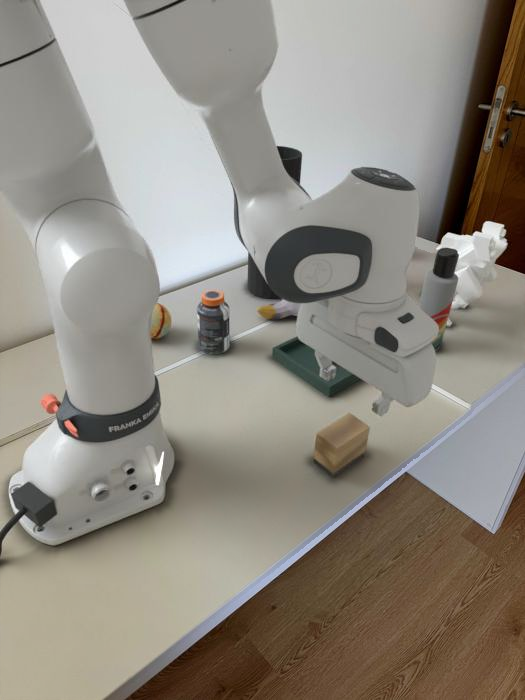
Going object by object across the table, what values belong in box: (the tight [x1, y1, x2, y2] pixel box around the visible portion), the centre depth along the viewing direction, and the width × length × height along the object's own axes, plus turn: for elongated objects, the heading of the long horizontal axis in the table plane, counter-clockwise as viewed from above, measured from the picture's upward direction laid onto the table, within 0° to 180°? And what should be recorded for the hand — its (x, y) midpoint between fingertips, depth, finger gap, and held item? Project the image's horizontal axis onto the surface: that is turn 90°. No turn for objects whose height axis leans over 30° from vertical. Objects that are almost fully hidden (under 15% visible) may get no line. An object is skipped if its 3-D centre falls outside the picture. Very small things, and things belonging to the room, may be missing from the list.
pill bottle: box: [196, 289, 231, 355], centre depth 100 cm, size 6×6×11 cm
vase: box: [246, 145, 303, 300], centre depth 115 cm, size 10×10×30 cm
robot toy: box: [435, 220, 509, 328], centre depth 111 cm, size 19×14×20 cm
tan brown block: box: [312, 412, 371, 478], centre depth 79 cm, size 4×7×6 cm, turn 131°
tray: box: [271, 335, 361, 398], centre depth 102 cm, size 22×15×2 cm
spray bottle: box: [418, 248, 459, 352], centre depth 101 cm, size 6×6×20 cm
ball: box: [151, 302, 172, 340], centre depth 103 cm, size 7×7×7 cm
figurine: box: [256, 298, 301, 320], centre depth 111 cm, size 12×17×15 cm
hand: (352, 394), depth 73 cm, fingers open, 8 cm apart
